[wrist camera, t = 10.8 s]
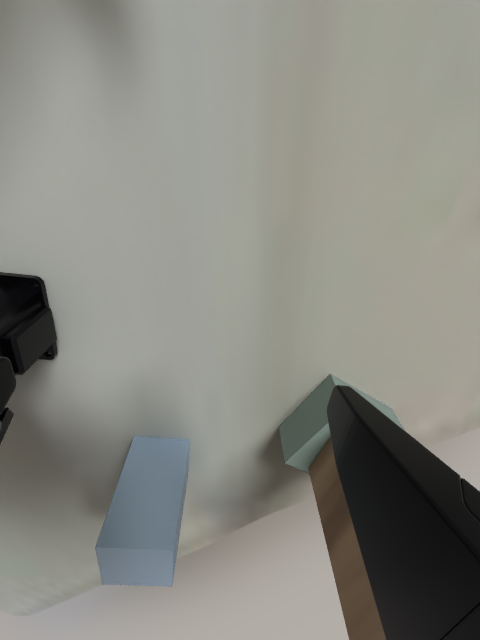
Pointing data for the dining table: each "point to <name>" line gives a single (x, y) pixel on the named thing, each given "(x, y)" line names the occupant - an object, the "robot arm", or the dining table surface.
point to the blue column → (145, 514)
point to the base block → (315, 425)
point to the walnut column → (344, 550)
